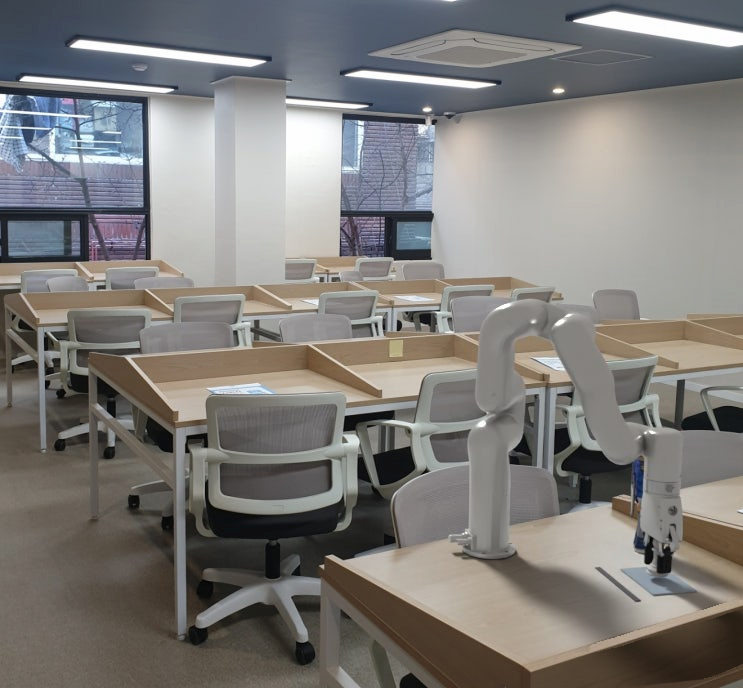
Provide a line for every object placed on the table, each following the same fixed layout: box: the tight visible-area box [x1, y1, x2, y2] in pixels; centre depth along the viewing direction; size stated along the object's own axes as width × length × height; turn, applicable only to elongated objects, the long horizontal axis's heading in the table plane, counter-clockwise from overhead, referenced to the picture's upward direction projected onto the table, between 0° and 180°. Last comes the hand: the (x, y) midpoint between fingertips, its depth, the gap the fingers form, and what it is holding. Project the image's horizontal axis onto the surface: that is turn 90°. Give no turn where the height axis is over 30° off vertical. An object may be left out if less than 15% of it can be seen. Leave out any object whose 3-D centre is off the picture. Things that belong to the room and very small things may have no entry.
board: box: [594, 566, 698, 602], centre depth 184 cm, size 15×18×1 cm
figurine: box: [630, 456, 645, 554], centre depth 201 cm, size 10×6×30 cm, turn 168°
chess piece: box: [646, 539, 669, 577], centre depth 184 cm, size 5×5×8 cm
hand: (657, 567), depth 184 cm, fingers closed on chess piece, 4 cm apart
